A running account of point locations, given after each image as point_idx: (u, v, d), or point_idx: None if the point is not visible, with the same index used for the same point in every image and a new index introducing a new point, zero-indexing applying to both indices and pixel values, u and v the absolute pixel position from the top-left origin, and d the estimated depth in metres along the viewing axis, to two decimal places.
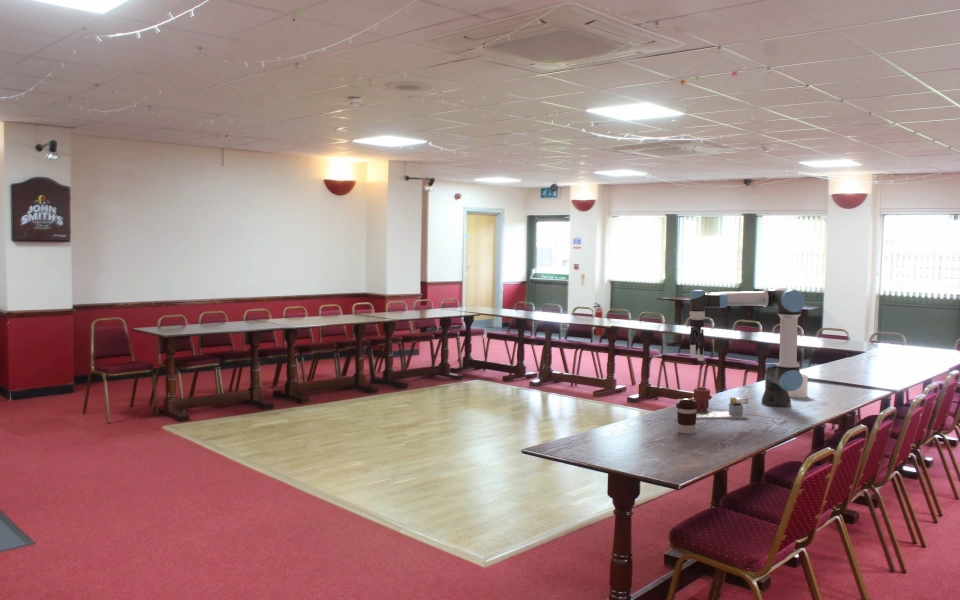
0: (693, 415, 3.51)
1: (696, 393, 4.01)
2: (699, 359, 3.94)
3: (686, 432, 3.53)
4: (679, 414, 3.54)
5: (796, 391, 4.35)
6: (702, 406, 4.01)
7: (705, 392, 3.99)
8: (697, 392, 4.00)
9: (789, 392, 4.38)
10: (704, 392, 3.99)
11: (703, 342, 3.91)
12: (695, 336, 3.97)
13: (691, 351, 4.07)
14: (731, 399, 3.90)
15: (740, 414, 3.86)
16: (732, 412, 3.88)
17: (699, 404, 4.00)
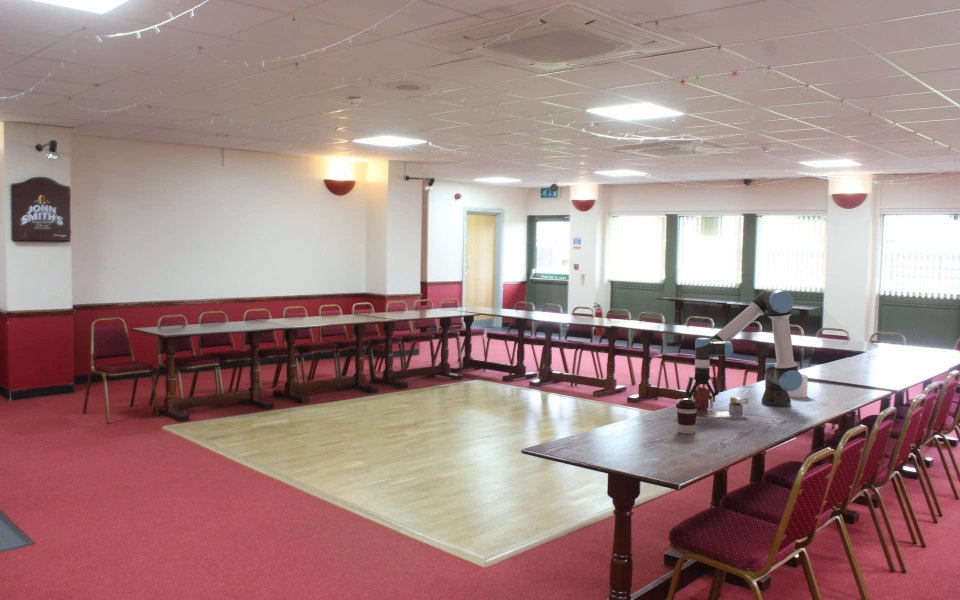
0: (693, 415, 3.51)
1: (696, 393, 4.01)
2: None
3: (686, 432, 3.53)
4: (679, 414, 3.54)
5: (796, 391, 4.35)
6: (702, 406, 4.01)
7: (705, 392, 3.99)
8: (697, 392, 4.00)
9: (789, 392, 4.38)
10: (704, 392, 3.99)
11: (687, 389, 4.02)
12: None
13: (710, 402, 4.04)
14: (731, 399, 3.90)
15: (740, 414, 3.86)
16: (732, 412, 3.88)
17: (699, 404, 4.00)
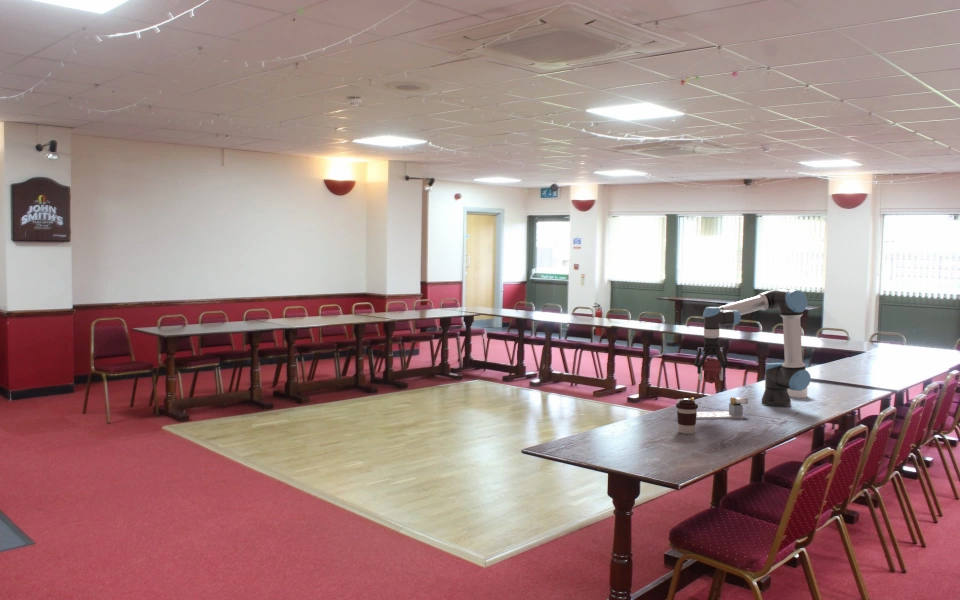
0: (693, 415, 3.51)
1: (705, 364, 3.85)
2: (699, 378, 3.89)
3: (686, 432, 3.53)
4: (679, 414, 3.54)
5: (796, 391, 4.35)
6: (711, 378, 3.85)
7: (715, 363, 3.83)
8: (706, 363, 3.85)
9: (789, 392, 4.38)
10: (713, 363, 3.83)
11: (695, 361, 3.87)
12: None
13: (720, 373, 3.89)
14: (731, 399, 3.90)
15: (740, 414, 3.86)
16: (732, 412, 3.88)
17: (708, 376, 3.85)
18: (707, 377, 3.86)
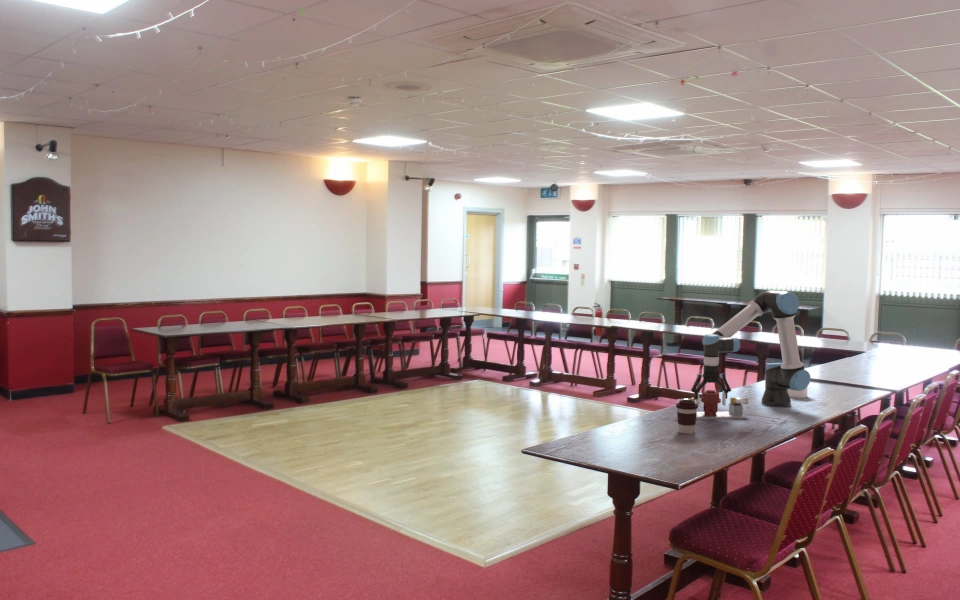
0: (693, 415, 3.51)
1: (705, 396, 3.87)
2: None
3: (686, 432, 3.53)
4: (679, 414, 3.54)
5: (796, 391, 4.35)
6: (711, 410, 3.87)
7: (714, 395, 3.85)
8: (706, 395, 3.86)
9: (789, 392, 4.38)
10: (713, 395, 3.85)
11: (693, 386, 3.88)
12: None
13: (722, 399, 3.90)
14: (731, 399, 3.90)
15: (740, 414, 3.86)
16: (732, 412, 3.88)
17: (708, 408, 3.86)
18: (707, 409, 3.87)
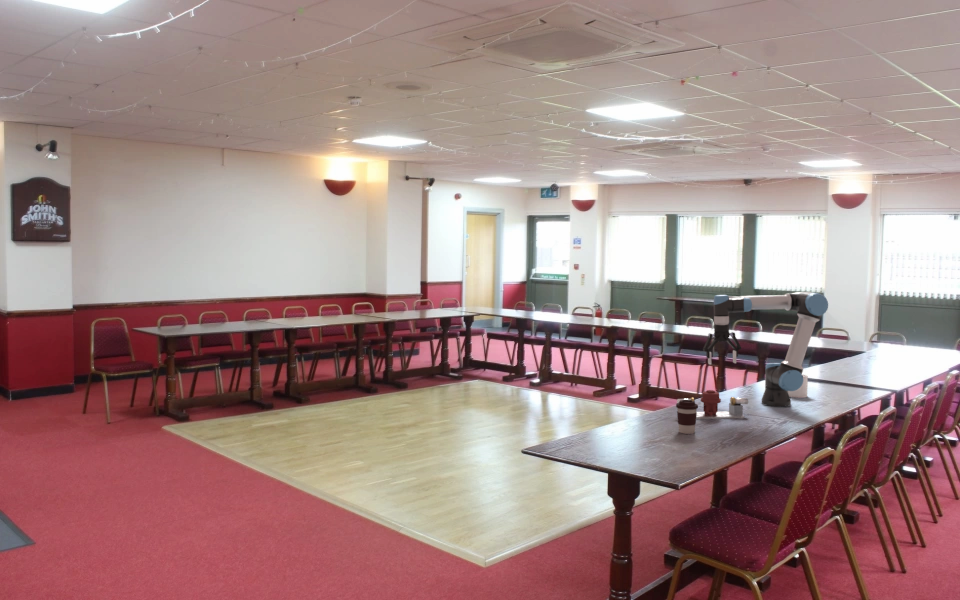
0: (693, 415, 3.51)
1: (705, 396, 3.87)
2: (708, 362, 4.02)
3: (686, 432, 3.53)
4: (679, 414, 3.54)
5: (796, 391, 4.35)
6: (711, 410, 3.87)
7: (714, 395, 3.85)
8: (706, 395, 3.86)
9: (789, 392, 4.38)
10: (713, 395, 3.85)
11: (705, 345, 4.00)
12: None
13: (733, 357, 4.03)
14: (731, 399, 3.90)
15: (740, 414, 3.86)
16: (732, 412, 3.88)
17: (708, 408, 3.86)
18: (707, 409, 3.87)
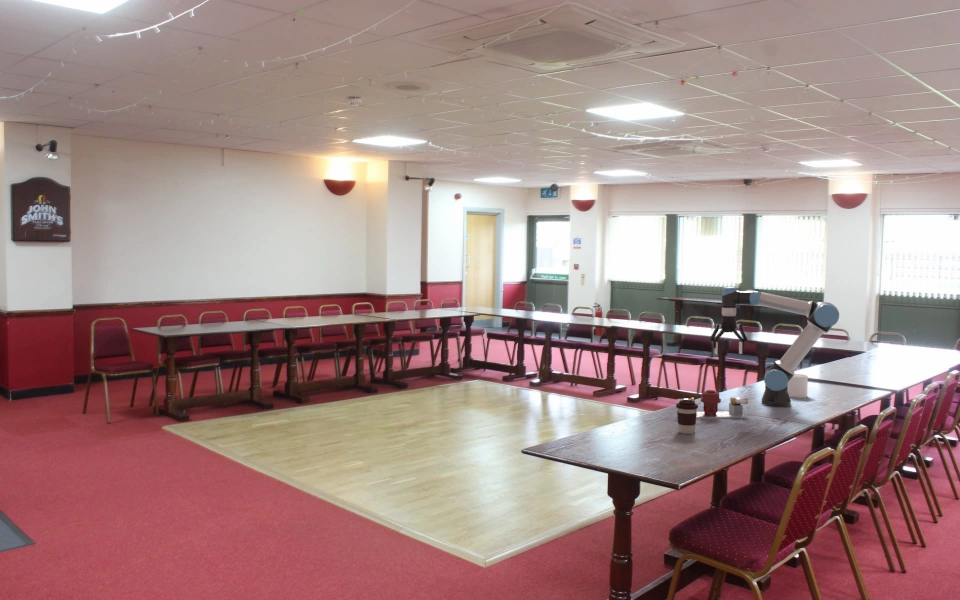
0: (693, 415, 3.51)
1: (705, 396, 3.87)
2: None
3: (686, 432, 3.53)
4: (679, 414, 3.54)
5: (796, 391, 4.35)
6: (711, 410, 3.87)
7: (714, 395, 3.85)
8: (706, 395, 3.86)
9: (789, 392, 4.38)
10: (713, 395, 3.85)
11: (712, 336, 4.12)
12: None
13: (739, 348, 4.14)
14: (731, 399, 3.90)
15: (740, 414, 3.86)
16: (732, 412, 3.88)
17: (708, 408, 3.86)
18: (707, 409, 3.87)
